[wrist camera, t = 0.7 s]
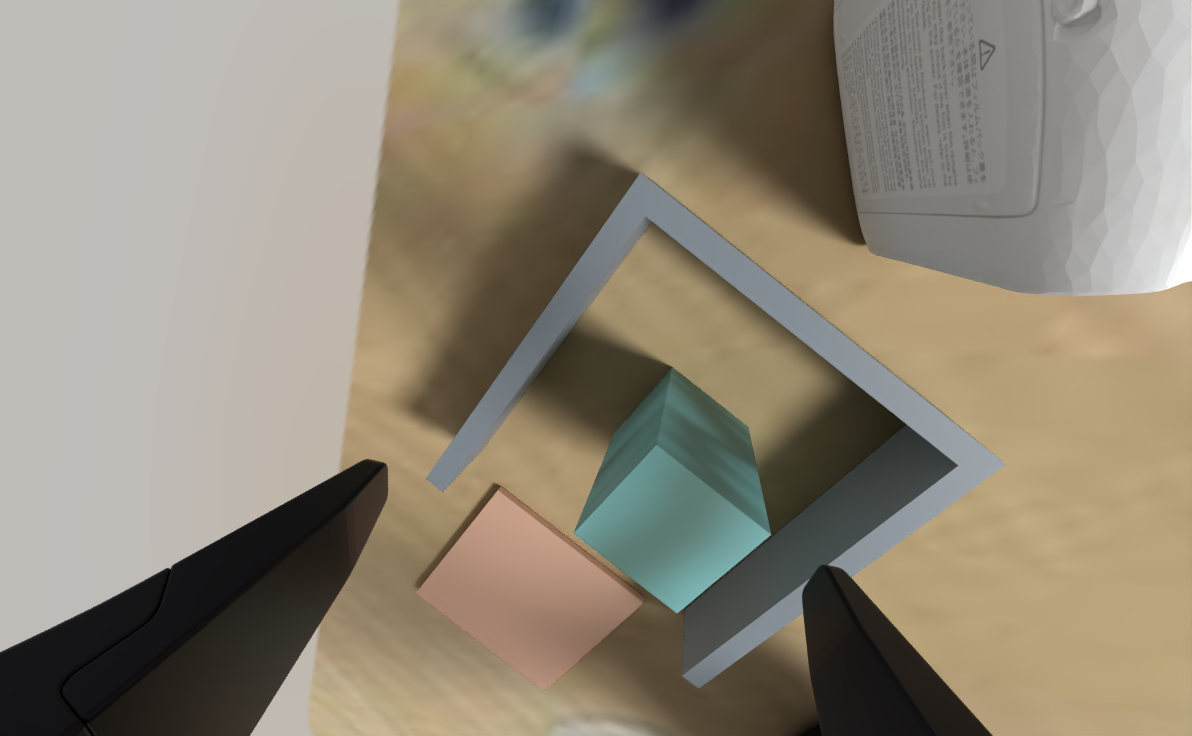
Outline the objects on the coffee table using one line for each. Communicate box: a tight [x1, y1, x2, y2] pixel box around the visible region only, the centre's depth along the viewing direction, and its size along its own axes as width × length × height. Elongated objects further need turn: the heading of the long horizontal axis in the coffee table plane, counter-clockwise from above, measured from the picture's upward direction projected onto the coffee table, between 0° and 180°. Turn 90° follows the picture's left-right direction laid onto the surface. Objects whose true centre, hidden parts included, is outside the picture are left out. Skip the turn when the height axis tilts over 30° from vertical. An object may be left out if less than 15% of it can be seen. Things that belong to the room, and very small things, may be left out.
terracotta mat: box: [416, 487, 645, 691], centre depth 28 cm, size 10×10×1 cm
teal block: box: [574, 367, 771, 613], centre depth 19 cm, size 4×4×8 cm
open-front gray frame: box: [426, 173, 1006, 689], centre depth 21 cm, size 16×16×4 cm
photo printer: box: [834, 0, 1192, 296], centre depth 12 cm, size 10×4×12 cm, turn 16°
